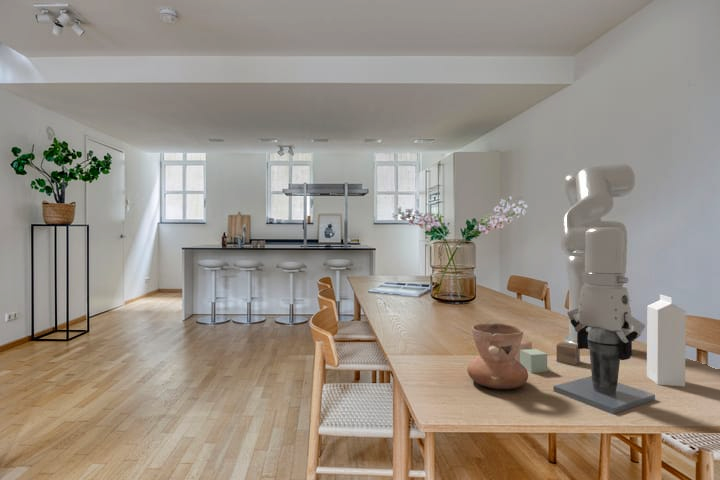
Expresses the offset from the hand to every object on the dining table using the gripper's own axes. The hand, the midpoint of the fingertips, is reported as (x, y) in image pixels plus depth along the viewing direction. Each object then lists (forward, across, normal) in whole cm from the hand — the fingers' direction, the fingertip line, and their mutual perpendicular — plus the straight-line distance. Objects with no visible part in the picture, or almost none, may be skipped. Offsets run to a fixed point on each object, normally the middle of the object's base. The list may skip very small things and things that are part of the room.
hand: (603, 353), depth 93 cm
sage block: (+10, +20, -1) cm, 22 cm away
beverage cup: (+9, 0, 0) cm, 9 cm away
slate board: (+10, 0, 0) cm, 10 cm away
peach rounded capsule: (+10, +26, -3) cm, 28 cm away
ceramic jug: (+10, +17, +16) cm, 25 cm away
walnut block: (+10, +20, -16) cm, 27 cm away
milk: (+10, -2, -23) cm, 25 cm away
